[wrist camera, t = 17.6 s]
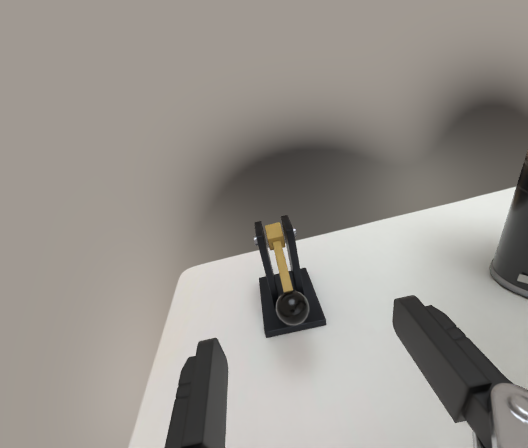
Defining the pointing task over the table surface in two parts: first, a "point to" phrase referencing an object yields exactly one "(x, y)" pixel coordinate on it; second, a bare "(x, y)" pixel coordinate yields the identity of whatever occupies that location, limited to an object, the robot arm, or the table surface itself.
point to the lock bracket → (274, 289)
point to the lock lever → (286, 282)
